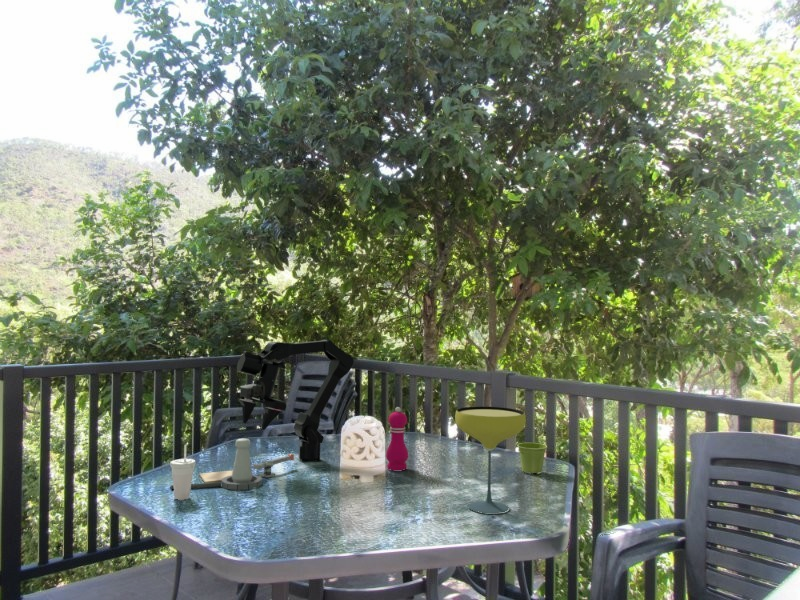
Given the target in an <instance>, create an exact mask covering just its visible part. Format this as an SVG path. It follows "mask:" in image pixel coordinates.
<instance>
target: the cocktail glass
mask: <svg viewBox="0 0 800 600" xmlns="http://www.w3.org/2000/svg"><path fill="white" fill-rule="evenodd" d="M454 421H455V425H456V427H458V428H459V429H460V431H462V432H463V433H465V434H466V435H468V436H469V437H472V438H473V439H475V440H477V441H478V442H480V444H482V446H483V448H484V449H485V450H486V451H488V454H487V455H488V458H487V459H488V467H487V469H488V470H487V471H488V473H487V492H486V494H487V495H486V499H485V500H479V501H473V503H472V502H470V503H469V504H468V505H469V506H468V505H467V508H468V507H469V508H470V509H472V510H474V511H477V512H478V511H479V512H482V513H499V512H505V511H507V510H508V508H509V507H510V506H509V505H507V504H506V505H507V506H506V505H505V503H502V502H499V501H493V499H492V487H491V484H492V483H491V474H492V472H491V470H492V467H491V465H492V464H491V462H492V460H491V459H492V451H493V450H495V448H496V447H497V446H498V445H499V444H500V443H501V442H504V441H505V440H507V439H510V438H512V437H515V436H516V435H518V434H520V432H522V431H523V430H524V429H525V426H526V421H527V418H526V413H525V412H524V411H523V410H520V409H516V408H510V407H500V406H466V407H460V408H457V409H456V411H455V420H454ZM508 506H509V507H508ZM469 508H468V509H469ZM470 509H469V510H470Z"/></svg>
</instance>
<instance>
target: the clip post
mask: <svg viewBox="0 0 800 600" xmlns="http://www.w3.org/2000/svg"><path fill="white" fill-rule="evenodd" d="M258 476H261V477H262V479H270V478H274V477H276V473H275V472H272V467H265V468H263V472H260V473H259V474H258Z"/></svg>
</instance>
